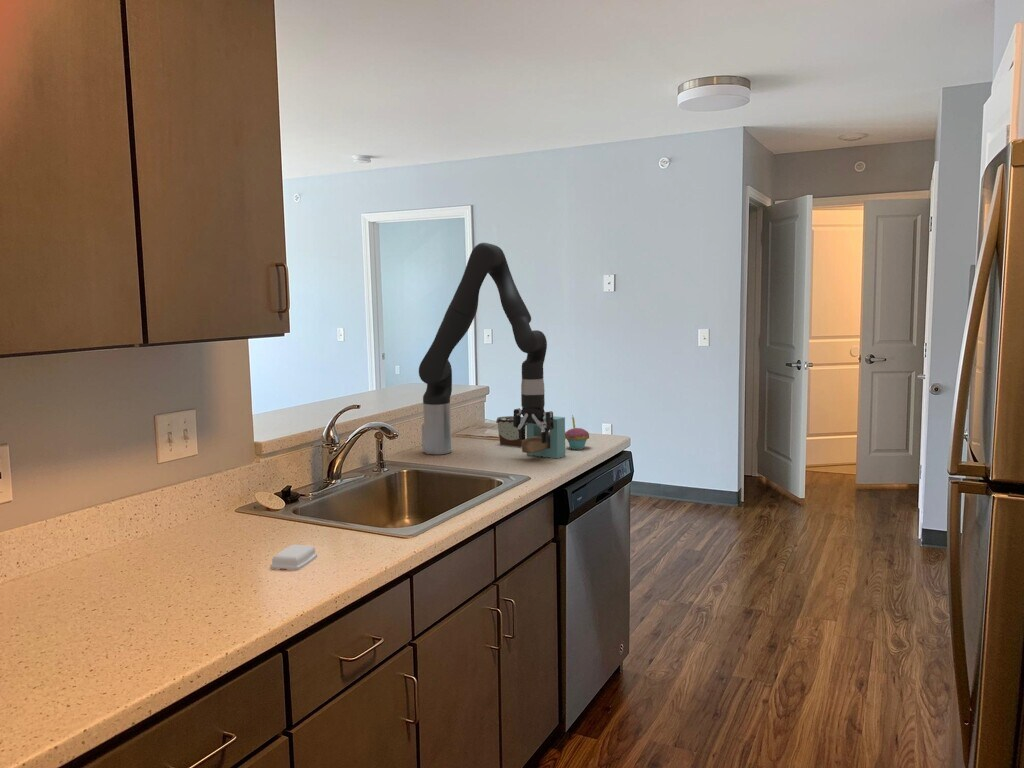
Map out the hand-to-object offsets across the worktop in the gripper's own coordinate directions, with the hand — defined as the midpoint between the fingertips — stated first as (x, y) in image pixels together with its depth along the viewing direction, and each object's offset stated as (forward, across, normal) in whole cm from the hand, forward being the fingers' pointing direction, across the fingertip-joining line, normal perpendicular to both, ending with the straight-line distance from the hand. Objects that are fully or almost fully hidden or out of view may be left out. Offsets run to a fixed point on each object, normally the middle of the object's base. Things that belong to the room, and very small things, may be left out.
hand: (533, 441), depth 244 cm
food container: (+6, -19, +17) cm, 26 cm away
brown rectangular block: (+3, 0, +6) cm, 7 cm away
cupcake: (+6, +3, +23) cm, 24 cm away
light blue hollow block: (+6, 0, +8) cm, 10 cm away
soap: (+6, +11, -106) cm, 106 cm away
